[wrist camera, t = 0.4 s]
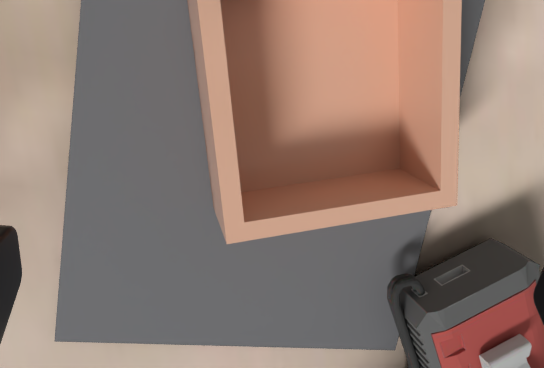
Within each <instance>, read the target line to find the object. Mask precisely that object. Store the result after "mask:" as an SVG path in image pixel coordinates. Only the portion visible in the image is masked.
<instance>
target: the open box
mask: <svg viewBox="0 0 544 368" xmlns="http://www.w3.org/2000/svg"><path fill="white" fill-rule="evenodd" d="M187 2H188V10H189V18H190V26H191V34H192V42H193V50H194V58H195V65H196V73H197V81H198V89H199V97H200V105H201V113H202V121H203V129H204V137H205V144H206V152H207V160H208V168H209V176H210V184H211V192H212V200H213V208H214V211H215V213H216V216H217V219H218V222H219V224H220V227H221V230H222V233H223V235H224V238H225V241H226V244H232V243H238V242H243V241H249V240H255V239H261V238H267V237H273V236H279V235H285V234H291V233H297V232H303V231H309V230H314V229H320V228H326V227H332V226H338V225H344V224H350V223H356V222H362V221H368V220H374V219H380V218H385V217H391V216H397V215H403V214H409V213H415V212H421V211H427V210H433V209H439V208H445V207H450V206H456V205H457V191H458V146H459V102H460V57H461V12H462V0H187Z"/></svg>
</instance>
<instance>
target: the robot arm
mask: <svg viewBox="0 0 544 368" xmlns="http://www.w3.org/2000/svg"><path fill="white" fill-rule="evenodd" d="M21 277H22V267H21V259H20V251H19V244H18V236H17V232H16V230H15V229H14V228H13V227H12V226H6V225H0V344H1V341H2V338H3V335H4V332H5V329H6V326H7V323H8V319H9V316H10V313H11V310H12V307H13V304H14V301H15V298H16V295H17V292H18V289H19V286H20V283H21ZM533 299H534V304H535V306H536V309H537V311H538V313H539V316H540V318H541V320H542V323H543V325H544V268H543V270H542V272H541V275H540V277H539V279H538V282H537V284H536V286H535V289H534V293H533Z"/></svg>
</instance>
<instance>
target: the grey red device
mask: <svg viewBox="0 0 544 368" xmlns="http://www.w3.org/2000/svg"><path fill="white" fill-rule="evenodd" d="M539 267H540V265H539V264H537V263H535V262H534V261H532V260H530V259H529V258H527V257H525V256H524V255H522V254H520V253H518V252H517V251H515V250H513V249H512V248H510V247H508V246H507V245H505V244H503V243H500V242H498V241H496V240H494V239H489V240H487V241H485V242H483V243H481V244H479V245H477V246H475V247H473V248H471V249H469V250H467V251H465V252H463V253H461V254H459V255H457V256H455V257H453V258H451V259H449V260H447V261H445V262H443V263H441V264H439V265H437V266H435V267H433V268H431V269H429V270H427V271H425V272H423V273H421V274H419V275H417V276H415V277H414V276H413V275H411V274H408V273H404V274H400V275H396V276H395V277H393V278H392V279H391V281H390V283H389V284H388V286H387V300H388V303H389V306H390V309H391V312H392V315H393V318H394V321H395V324H396V327H397V330H398V333H399V336H400V339H401V342H402V345H403V348H404V351H405V354H406V357H407V361H408V368H544V325H543V323H542V320H541V318H540V316H539V313H538V311H537V309H536V306H535V304H534V299H533V293H534V289H535V286H536V284H537V282H538V279H539V277H540V275H541V273H540V271H539Z"/></svg>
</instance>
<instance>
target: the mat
mask: <svg viewBox="0 0 544 368" xmlns="http://www.w3.org/2000/svg"><path fill="white" fill-rule="evenodd" d="M484 2H485V0H462V12H461V57H460V96H461V92H462V88H463V84H464V80H465V76H466V72H467V68H468V64H469V61H470V57H471V53H472V49H473V45H474V41H475V37H476V33H477V29H478V26H479V22H480V18H481V14H482V10H483V6H484ZM430 212H431V210H427V211H421V212H415V213H409V214H403V215H397V216H391V217H385V218H380V219H374V220H368V221H362V222H356V223H350V224H344V225H338V226H332V227H326V228H320V229H314V230H309V231H303V232H297V233H291V234H285V235H279V236H273V237H267V238H261V239H255V240H249V241H243V242H238V243H232V244H226V241H225V238H224V235H223V233H222V230H221V227H220V224H219V222H218V219H217V216H216V213H215V211H214V208H213V200H212V192H211V184H210V176H209V168H208V160H207V152H206V144H205V137H204V129H203V121H202V113H201V105H200V97H199V89H198V81H197V73H196V65H195V58H194V50H193V42H192V34H191V26H190V18H189V10H188V2H187V0H81V9H80V22H79V35H78V48H77V61H76V74H75V86H74V99H73V112H72V125H71V138H70V150H69V163H68V176H67V189H66V202H65V215H64V227H63V240H62V253H61V266H60V279H59V291H58V304H57V317H56V330H55V341H60V342H98V343H137V344H175V345H213V346H252V347H290V348H328V349H366V350H395V348H396V345H397V341H398V337H399V333H398V330H397V327H396V324H395V321H394V318H393V315H392V312H391V309H390V306H389V303H388V300H387V286H388V284H389V283H390V281H391V279H392V278H393V277H395V276H396V275H400V274H404V273H408V274H411V275H413V276H414V274H415V271H416V267H417V263H418V259H419V255H420V251H421V247H422V243H423V239H424V236H425V232H426V228H427V224H428V220H429V216H430Z"/></svg>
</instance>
